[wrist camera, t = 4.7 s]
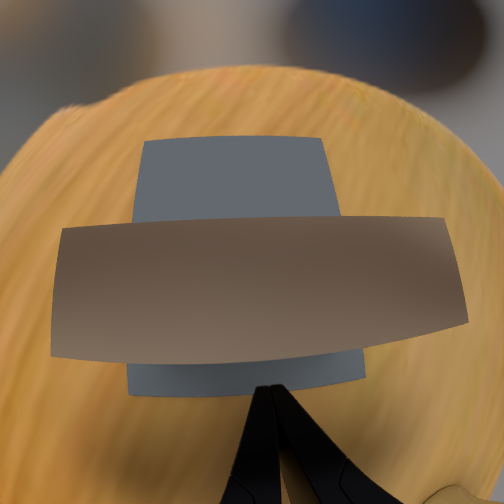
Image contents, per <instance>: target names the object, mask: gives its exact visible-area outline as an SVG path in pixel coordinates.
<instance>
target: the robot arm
mask: <svg viewBox="0 0 504 504" xmlns="http://www.w3.org/2000/svg"><path fill="white" fill-rule="evenodd" d="M280 469H281V473H282V476H283V479H284V483H285V486H286V489H287V493H288V496H289V499H290V503H291V504H403V503H402V502H400V501H399V500H398V499H396V498H395V497H393V496H392V495H391V494H389V493H388V492H387V491H385V490H384V489H382V488H381V487H380V486H378V485H377V484H376V483H375V482H373V481H372V480H371V479H370V478H369V477H367V476H366V475H365V474H364V473H363V472H362V471H361V470H360V469H359V468H358V467H357V466H356V465H355V464H354V463H353V462H352V461H351V460H350V459H349V458H347V456H346V455H345V454H344V453H343V452H342V451H341V450H340V448H339V447H338V446H337V445H336V444H335V443H334V442H333V441H332V440H331V439H330V438H329V437H328V435H327V434H326V433H325V432H324V431H323V430H322V429H321V428H320V427H319V425H318V424H317V423H316V422H315V421H314V420H313V419H312V418H311V416H310V415H309V414H308V413H307V412H306V411H305V410H304V408H303V407H302V406H301V405H300V404H299V403H298V401H297V400H296V399H295V398H294V397H293V396H292V394H291V393H290V392H289V391H288V390H287V389H286V387H285V386H284V385H283V384H272V385H270V386H268V385H261V386H256V387H255V391H254V394H253V398H252V401H251V405H250V409H249V412H248V416H247V419H246V423H245V426H244V430H243V433H242V436H241V440H240V443H239V447H238V450H237V453H236V457H235V460H234V463H233V466H232V470H231V473H230V476H229V479H228V482H227V485H226V488H225V491H224V493H223V496H222V499H221V501H220V503H219V504H282V503H281V480H280Z"/></svg>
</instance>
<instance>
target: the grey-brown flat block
mask: <svg viewBox="0 0 504 504" xmlns="http://www.w3.org/2000/svg"><path fill="white" fill-rule="evenodd" d="M465 323H469V321H468V314H467V308H466V303H465V297H464V292H463V287H462V283H461V278H460V274H459V270H458V265H457V261H456V257H455V254H454V250H453V246H452V243H451V239H450V236H449V233H448V229H447V226H446V223H445V220H444V218H434V217H390V216H300V217H252V218H222V219H197V220H177V221H158V222H141V223H126V224H112V225H98V226H85V227H74V228H62V233H61V239H60V245H59V251H58V257H57V264H56V272H55V281H54V291H53V302H52V319H51V356H52V357H60V358H68V359H77V360H88V361H100V362H114V363H134V364H217V363H237V362H253V361H265V360H277V359H287V358H296V357H304V356H312V355H320V354H327V353H334V352H340V351H347V350H353V349H358V348H364V347H370V346H375V345H380V344H385V343H390V342H395V341H399V340H404V339H408V338H413V337H417V336H421V335H425V334H429V333H433V332H437V331H441V330H444V329H448V328H452V327H455V326H459V325H462V324H465Z"/></svg>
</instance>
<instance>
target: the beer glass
mask: <svg viewBox="0 0 504 504" xmlns="http://www.w3.org/2000/svg"><path fill="white" fill-rule="evenodd" d="M424 504H504V501H488V500H484V499H480V498H478V497H476V496H474V495H472V494H471V493H469V492H468V491H467V490H465V489H464V488H462V487H460V486H456V485H453V486H448V487H446V488H443V489H442V490H440V491H438V492H437V493H435V494H434V495H433V496H431V497H430V498H429V499H428V500H427V501H426V502H425V503H424Z"/></svg>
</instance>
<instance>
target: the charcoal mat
mask: <svg viewBox="0 0 504 504" xmlns="http://www.w3.org/2000/svg"><path fill="white" fill-rule="evenodd" d="M300 216H341V214H340V210H339V206H338V201H337V197H336V193H335V189H334V185H333V181H332V177H331V173H330V169H329V166H328V162H327V158H326V155H325V151H324V147H323V144H322V141H321V138H309V137H289V136H212V137H191V138H176V139H163V140H153V141H144V146H143V151H142V157H141V163H140V168H139V174H138V181H137V187H136V194H135V202H134V210H133V218H132V223H141V222H158V221H177V220H197V219H222V218H252V217H300ZM127 376H128V392H129V395H135V396H155V397H219V396H239V395H253V394H254V391H255V387H256V386H261V385H268V386H270V385H272V384H283V385H284V386H285V387H286V389H287V390H288V391H292V390H299V389H306V388H313V387H320V386H326V385H332V384H337V383H342V382H348V381H353V380H358V379H362V378H366V375H365V364H364V354H363V348H358V349H353V350H347V351H340V352H334V353H327V354H320V355H312V356H304V357H296V358H287V359H277V360H265V361H253V362H237V363H217V364H134V363H127Z"/></svg>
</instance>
